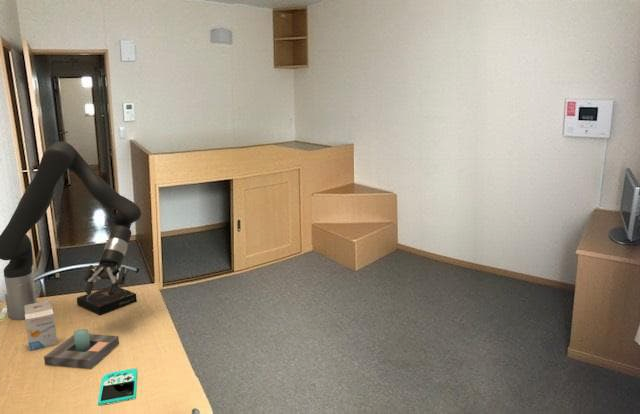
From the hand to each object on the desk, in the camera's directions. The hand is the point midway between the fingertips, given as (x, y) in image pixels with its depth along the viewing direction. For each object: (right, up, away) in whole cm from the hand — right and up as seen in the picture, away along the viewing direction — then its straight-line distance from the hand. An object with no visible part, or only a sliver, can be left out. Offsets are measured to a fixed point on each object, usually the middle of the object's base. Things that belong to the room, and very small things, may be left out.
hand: (98, 294), depth 167 cm
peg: (-2, -19, -7) cm, 20 cm away
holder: (-2, -19, -7) cm, 20 cm away
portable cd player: (-12, -10, +33) cm, 36 cm away
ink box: (-19, -17, -1) cm, 26 cm away
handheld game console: (+18, -23, -26) cm, 39 cm away
